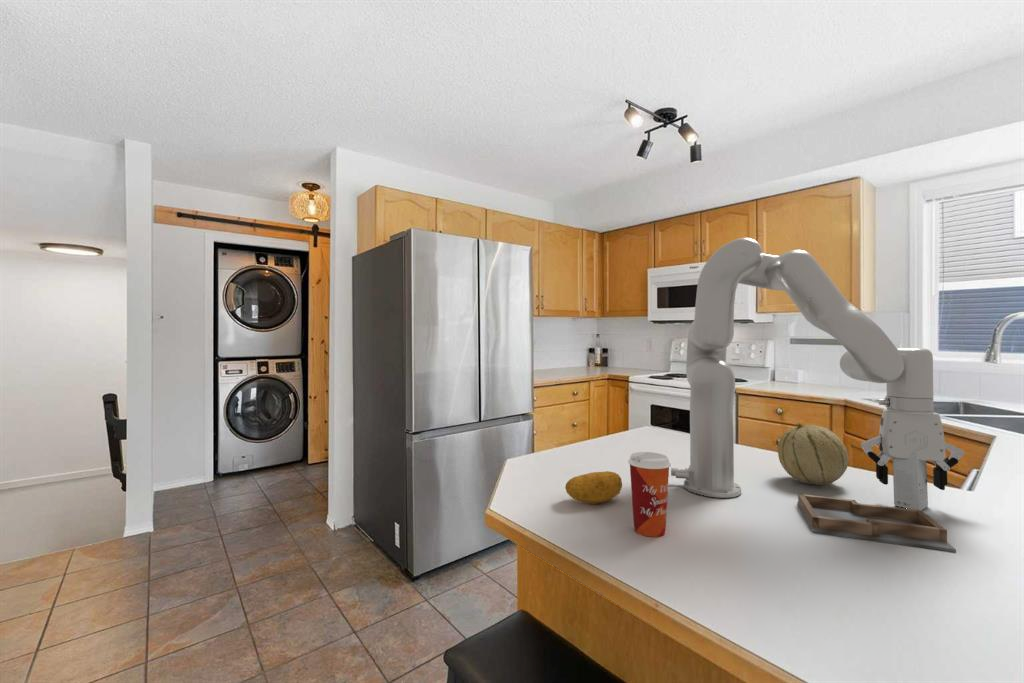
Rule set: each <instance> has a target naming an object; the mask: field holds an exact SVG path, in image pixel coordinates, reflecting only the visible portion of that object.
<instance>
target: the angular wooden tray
mask: <svg viewBox="0 0 1024 683" xmlns="http://www.w3.org/2000/svg"><path fill="white" fill-rule="evenodd" d="M797 496H798V497H797V500H798V501H797V505H798V507H799V509H800V511H801V513H802V515H803V516H804V518H805V519H806V522H808V525H809V527H810V529H811V530H812V532H813V534H814V533H815V534H822V535H829V536H837V537H845V538H851V539H852V538H853V539H856V540H857V539H858V540H865V541H870V542H871V541H872V542H873V541H874V542H880V543H885V544H887V543H888V544H894V545H902V546H908V547H915V548H922V547H923V549H928V548H931V550H936V549H938V550H937V551H944V552H949V553H950V552H951V553H957V549H956V548H955V547H954V546H952V544H950V543H949V542H948V530H947V529H946V528H945V527H943V526H942V525H941V524H939V523H938V522H937V521H935V520H934V519H933V518H932V517H930V516H929V515H927V514H926V513H925V512H924V511H923V510H913V509H905V508H901V507H894V506H886V505H879V504H878V505H877V504H876V505H875V504H867V503H859V502H858V501H856V500H855V499H850V498H849V499H847V498H839V497H829V496H822V495H813V494H804V493H798V494H797Z"/></svg>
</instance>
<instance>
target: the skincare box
mask: <svg viewBox="0 0 1024 683" xmlns="http://www.w3.org/2000/svg"><path fill="white" fill-rule="evenodd" d="M927 467H928V466H927V461H919V460H918V453H911V457H910V459H896V458H892V471H893V472H892V473H893V474H892V477H893V478H892V479H893V480H892V481H893V504H894V506H896V507H897V508H901V507H903V508H904V509H905V508H907V509H913V510H921V511H923V510H924V509H926V508H927V507H928V506H929V496H928V495H929V494H928V491H929V490H928V470H927Z"/></svg>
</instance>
